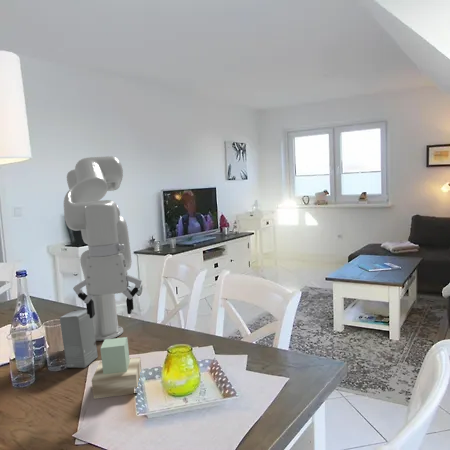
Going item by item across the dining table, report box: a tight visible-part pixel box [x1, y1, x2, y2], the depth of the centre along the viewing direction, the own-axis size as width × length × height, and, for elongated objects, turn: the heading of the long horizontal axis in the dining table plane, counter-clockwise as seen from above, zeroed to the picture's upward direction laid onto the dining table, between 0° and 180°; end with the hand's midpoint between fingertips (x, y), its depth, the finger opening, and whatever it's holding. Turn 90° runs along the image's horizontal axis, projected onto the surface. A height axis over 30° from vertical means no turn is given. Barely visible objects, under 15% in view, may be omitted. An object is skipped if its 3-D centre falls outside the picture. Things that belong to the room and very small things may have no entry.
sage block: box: [100, 336, 131, 374], centre depth 112 cm, size 6×6×7 cm
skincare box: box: [59, 308, 99, 368], centre depth 129 cm, size 8×7×16 cm
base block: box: [91, 356, 142, 400], centre depth 112 cm, size 11×11×5 cm
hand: (111, 314), depth 111 cm, fingers open, 9 cm apart
